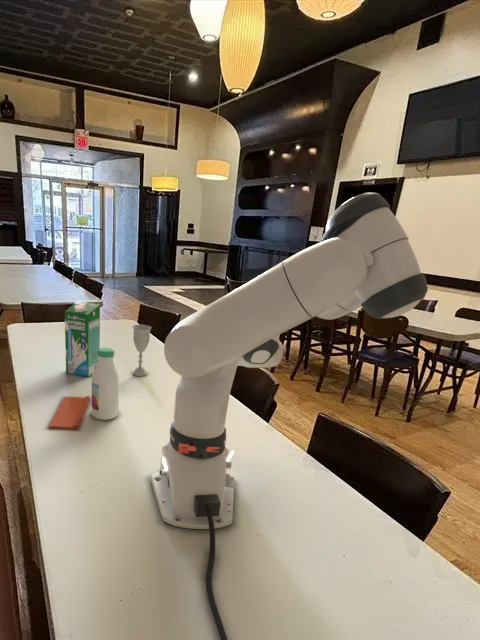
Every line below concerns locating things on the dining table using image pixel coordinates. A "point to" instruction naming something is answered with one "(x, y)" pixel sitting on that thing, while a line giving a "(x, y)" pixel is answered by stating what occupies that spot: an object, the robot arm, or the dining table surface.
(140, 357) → the chalice
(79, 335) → the milk carton
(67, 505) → the dining table surface
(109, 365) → the milk bottle
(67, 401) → the roof tile
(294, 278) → the robot arm
